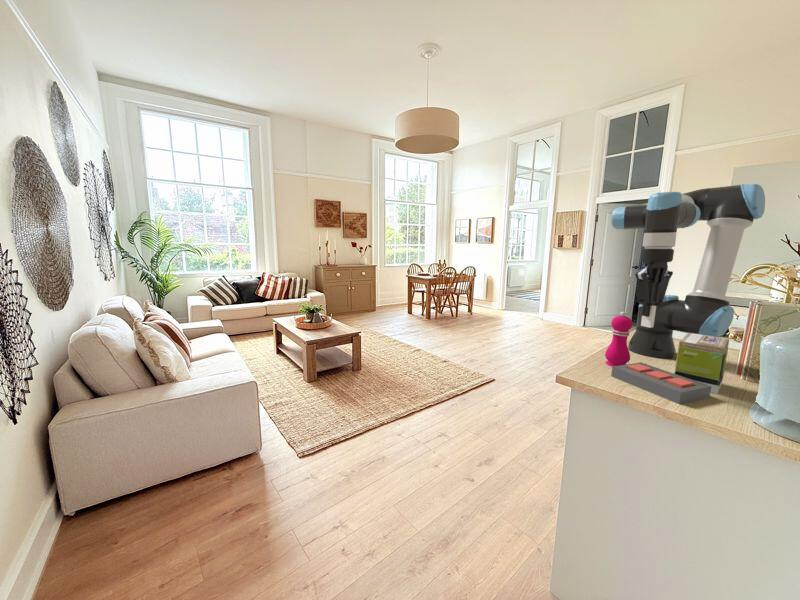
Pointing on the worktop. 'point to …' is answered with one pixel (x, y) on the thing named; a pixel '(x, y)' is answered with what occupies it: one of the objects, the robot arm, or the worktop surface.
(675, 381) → the button
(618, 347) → the pepper mill
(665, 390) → the power strip
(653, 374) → the button
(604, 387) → the worktop surface
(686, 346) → the tea box
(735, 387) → the worktop surface
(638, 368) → the button
